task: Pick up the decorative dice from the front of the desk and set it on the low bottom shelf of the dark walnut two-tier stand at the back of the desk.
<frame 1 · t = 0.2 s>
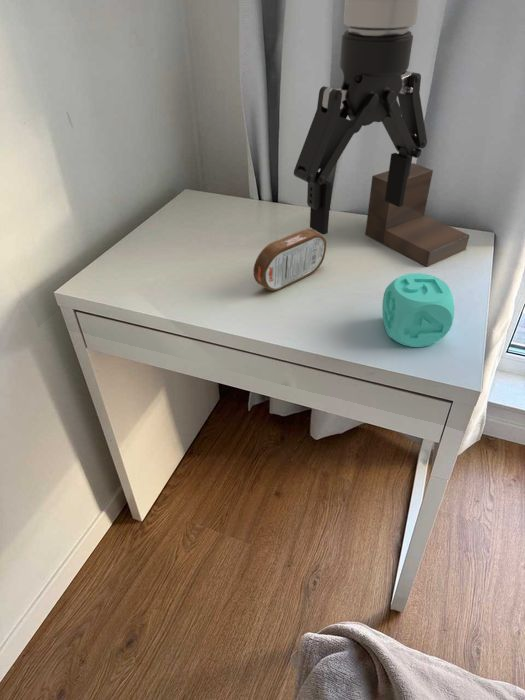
hand: (357, 216, 67), 18 cm above the table, tool pointing down, fingers open, 13 cm apart
shelf stand: (423, 246, 96), on the table
decorative dice: (411, 332, 76), on the table
tin: (291, 281, 88), on the table
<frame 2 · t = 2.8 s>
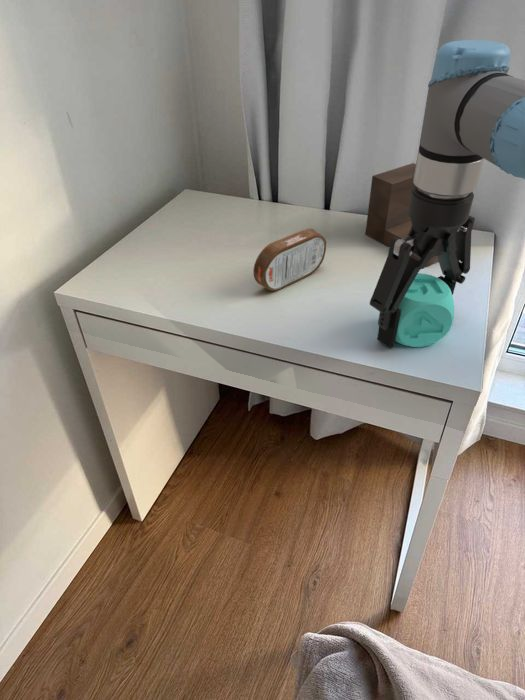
hand: (412, 328, 76), 0 cm above the table, tool pointing down, fingers closed on decorative dice, 11 cm apart
decorative dice: (411, 332, 76), on the table, touching gripper
everything else where it was.
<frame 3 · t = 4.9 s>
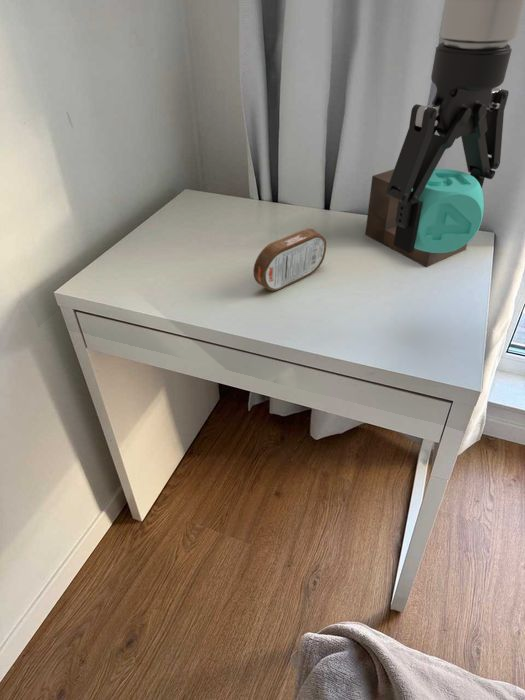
hand: (433, 235, 66), 16 cm above the table, tool pointing down, fingers closed on decorative dice, 11 cm apart
decorative dice: (432, 240, 66), point 15 cm above the table, touching gripper
everything else where it was.
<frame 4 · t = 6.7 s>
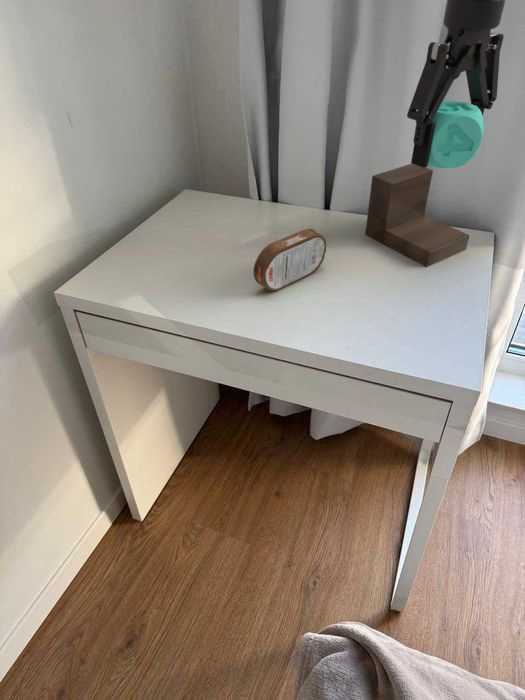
hand: (442, 157, 82), 18 cm above the table, tool pointing down, fingers closed on decorative dice, 11 cm apart
decorative dice: (441, 161, 82), point 18 cm above the table, touching gripper
everything else where it was.
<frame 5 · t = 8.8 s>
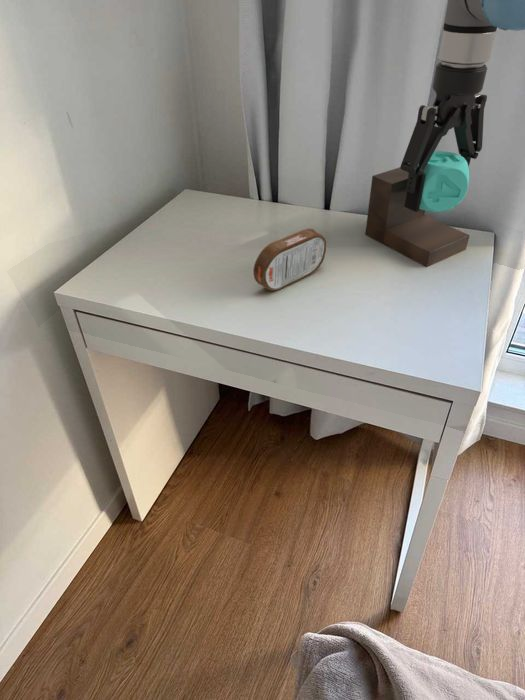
hand: (433, 200, 90), 9 cm above the table, tool pointing down, fingers closed on decorative dice, 11 cm apart
decorative dice: (432, 204, 91), point 9 cm above the table, touching gripper
everything else where it was.
when the fingers open (3 cm above the table, at t = 10.8 s): decorative dice stays where it is, resting on shelf stand.
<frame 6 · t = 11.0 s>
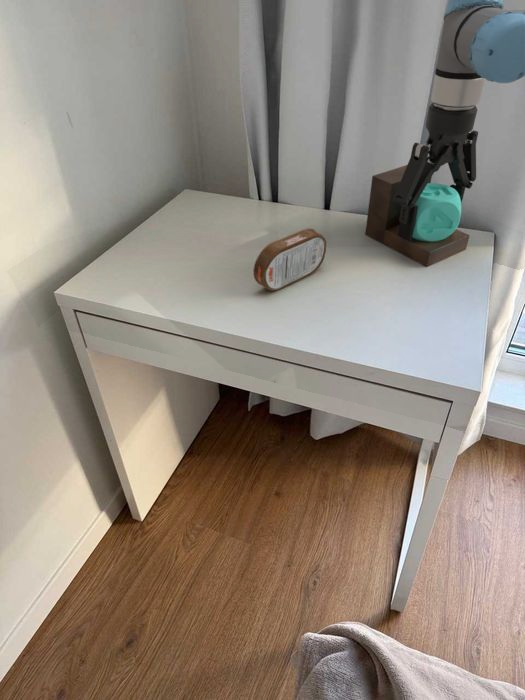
hand: (427, 228, 94), 4 cm above the table, tool pointing down, fingers open, 12 cm apart
decorative dice: (426, 233, 94), point 3 cm above the table, touching shelf stand
everything else where it was.
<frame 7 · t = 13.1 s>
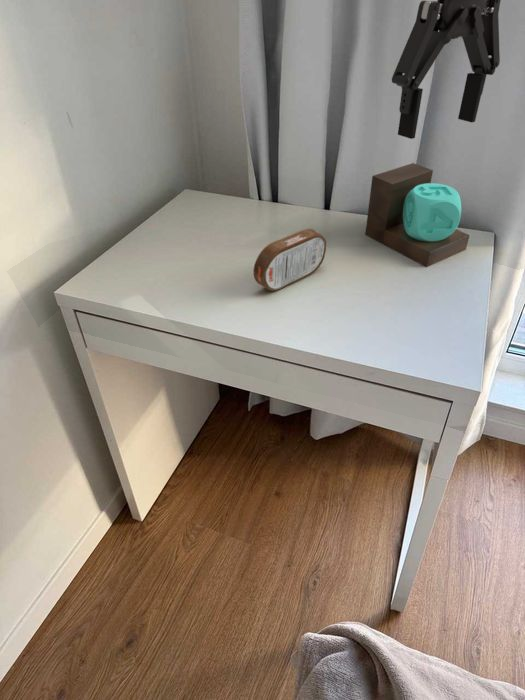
hand: (437, 128, 76), 24 cm above the table, tool pointing down, fingers open, 13 cm apart
nothing on the table moved.
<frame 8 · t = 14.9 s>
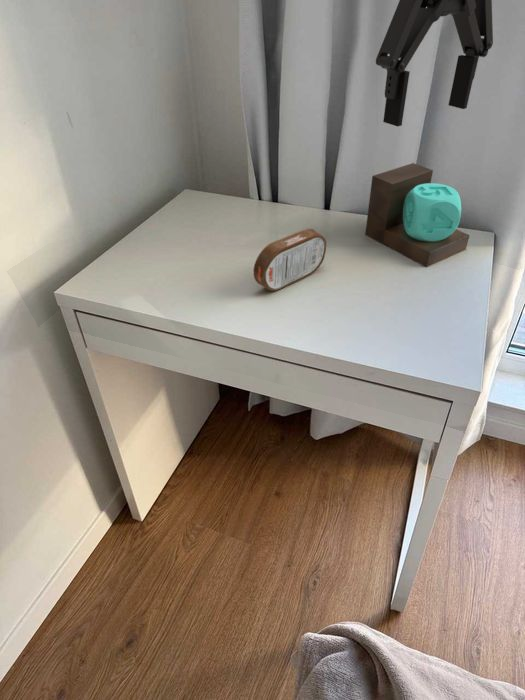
hand: (426, 115, 71), 27 cm above the table, tool pointing down, fingers open, 13 cm apart
nothing on the table moved.
at the end: decorative dice inside the target area on the shelf stand (0.0 cm from its centre), point 2.8 cm above the shelf stand's base; decorative dice tilted 0°; the gripper is holding nothing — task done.
